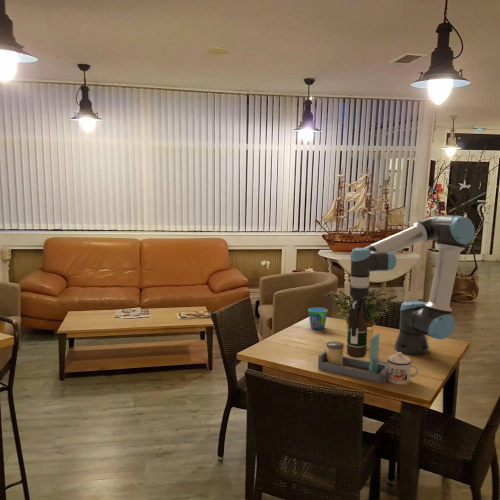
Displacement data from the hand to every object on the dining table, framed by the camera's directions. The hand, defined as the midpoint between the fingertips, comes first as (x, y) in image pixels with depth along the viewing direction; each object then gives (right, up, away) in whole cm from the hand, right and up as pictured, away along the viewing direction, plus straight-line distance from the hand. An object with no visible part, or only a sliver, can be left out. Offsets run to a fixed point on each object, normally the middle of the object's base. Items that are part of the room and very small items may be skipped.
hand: (357, 340), depth 191 cm
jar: (-8, -12, +7) cm, 16 cm away
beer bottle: (0, -6, +1) cm, 6 cm away
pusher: (+9, -14, -3) cm, 17 cm away
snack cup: (-7, -5, +62) cm, 62 cm away
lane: (0, -13, +2) cm, 13 cm away
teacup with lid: (+16, -15, -7) cm, 23 cm away
